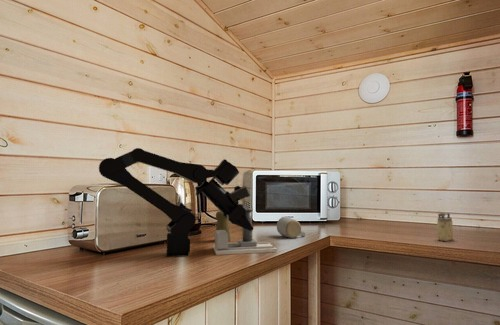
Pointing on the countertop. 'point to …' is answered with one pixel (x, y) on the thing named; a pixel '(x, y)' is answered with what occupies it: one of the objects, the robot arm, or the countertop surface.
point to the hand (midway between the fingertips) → (251, 229)
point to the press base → (234, 248)
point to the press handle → (247, 233)
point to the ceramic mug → (289, 227)
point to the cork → (222, 223)
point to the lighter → (444, 227)
